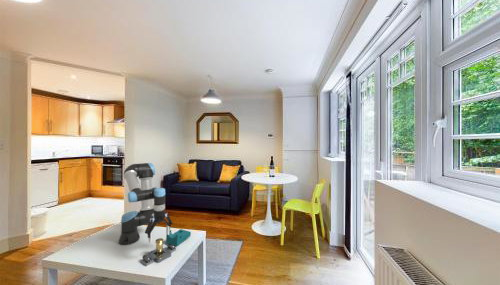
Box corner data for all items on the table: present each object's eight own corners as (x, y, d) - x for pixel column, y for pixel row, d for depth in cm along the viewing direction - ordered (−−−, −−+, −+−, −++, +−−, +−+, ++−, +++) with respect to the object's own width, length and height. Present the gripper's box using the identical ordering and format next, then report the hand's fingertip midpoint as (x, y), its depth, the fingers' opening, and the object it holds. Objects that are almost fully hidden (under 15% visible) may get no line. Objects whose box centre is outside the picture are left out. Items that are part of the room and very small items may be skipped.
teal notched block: (176, 247, 157) (177, 235, 157) (165, 244, 160) (166, 231, 160) (190, 237, 174) (191, 225, 174) (180, 234, 177) (181, 223, 177)
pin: (154, 256, 144) (154, 240, 144) (160, 253, 148) (160, 237, 148) (158, 259, 141) (158, 242, 141) (164, 255, 145) (164, 239, 145)
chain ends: (138, 260, 139) (138, 254, 139) (168, 246, 158) (168, 241, 158) (149, 268, 131) (149, 261, 131) (178, 252, 150) (178, 246, 150)
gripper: (145, 216, 132) (144, 247, 132) (177, 206, 152) (177, 232, 153) (139, 213, 136) (139, 243, 137) (171, 203, 157) (171, 230, 157)
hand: (159, 238), depth 145 cm, fingers open, 13 cm apart
